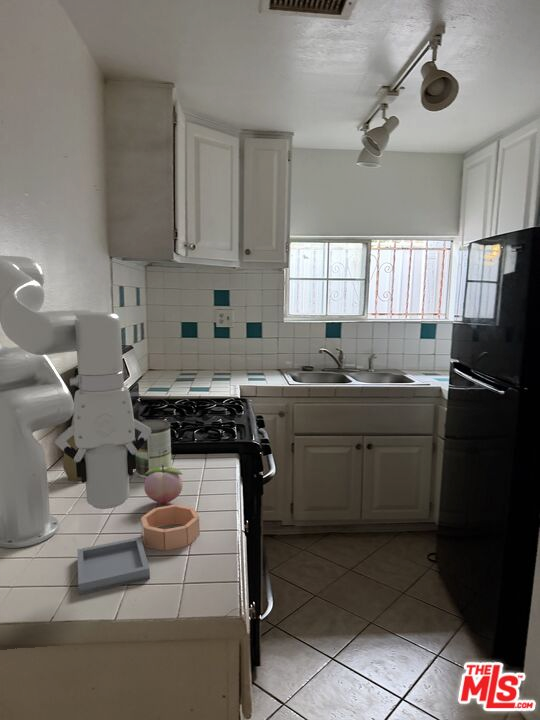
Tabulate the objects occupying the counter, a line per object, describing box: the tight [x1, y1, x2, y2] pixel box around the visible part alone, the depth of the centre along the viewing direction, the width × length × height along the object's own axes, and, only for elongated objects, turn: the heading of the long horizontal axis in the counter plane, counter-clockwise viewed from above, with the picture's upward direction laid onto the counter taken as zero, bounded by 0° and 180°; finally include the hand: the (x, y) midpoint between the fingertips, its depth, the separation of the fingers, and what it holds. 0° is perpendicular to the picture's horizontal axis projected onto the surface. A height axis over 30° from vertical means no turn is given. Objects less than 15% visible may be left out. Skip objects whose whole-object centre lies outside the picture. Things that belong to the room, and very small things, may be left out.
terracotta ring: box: [140, 504, 201, 552], centre depth 101 cm, size 12×12×4 cm
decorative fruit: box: [143, 465, 184, 505], centre depth 116 cm, size 9×8×10 cm
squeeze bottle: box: [62, 415, 84, 482], centre depth 132 cm, size 8×8×18 cm
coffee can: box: [133, 419, 173, 479], centre depth 136 cm, size 10×10×14 cm
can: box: [84, 444, 131, 510], centre depth 87 cm, size 8×8×12 cm
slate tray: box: [76, 536, 151, 596], centre depth 89 cm, size 12×12×2 cm
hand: (107, 476), depth 87 cm, fingers closed on can, 7 cm apart
